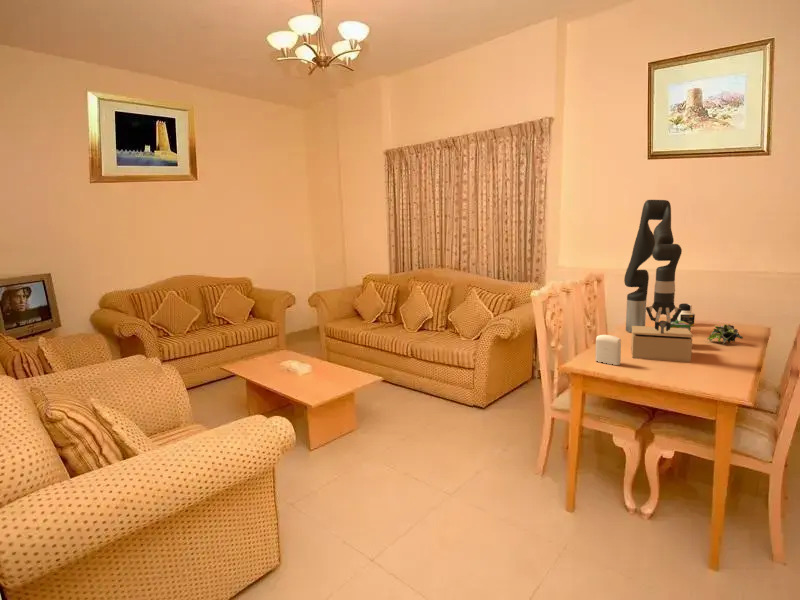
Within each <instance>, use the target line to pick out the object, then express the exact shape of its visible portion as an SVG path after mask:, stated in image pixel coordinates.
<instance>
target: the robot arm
mask: <svg viewBox="0 0 800 600" xmlns="http://www.w3.org/2000/svg"><path fill="white" fill-rule="evenodd" d="M650 220H652V221H653V220H654V221H660V222H659V223H658V224H657V225H656V226H655V227H654V229H653V232H652V230H651V228H650V225H649V221H650ZM672 231H673V230H672V207H671V203H670V201H669V200H667V199H647V200H645V201H644V204H643V206H642V211H641V215H640V222H639V226H638V230H637V234H636V237H635V240H634V244H633V248H632V252H631V256H630V261H629V262H628V265H627V268H626V271H625V273H624V281H623V282H624V286H626V287H627V288H637V289H636V290H634V291H632V292H630V293H628V294H626V316H625V319H626V320H625V331H626V332H628V333H632V326H646V317H647V314H648V316H649V320H650V321H653V322H654V327H655V329H656V330H657V331H659V327H660V326H659V322H660V321H659V320H660V317H661V315H665V316H666V321H667V322H666V323H667V325H666V331H668V330H670V324H671V322H675V321H676V319H677V318H678V316H679V314H680V313H681V311H682V310H681V308H679V307H677V306H675V305H676V304H675V295H676V294H675V292H676V282H675V281H676V270H677V266H678V263H679V261H680V258H681V256H682V251H683V250H682V246H681V245H680V244H678V243H674V236H673V232H672ZM651 256H652V258H653V259H654V260H655V261H658V262H668V261H669V263H668V264H666V265H661V266H658V267H656V270H655V282H654V289H653V290H654V291H653V296H654V297H653V303H652V305H651V306H647V300H648V299H647V298H648V290H649V289H648V287H649V279H650V276H649V272H648V270H647V269H639V267H640V266H641V265H642V264H644V263H645V262H646V261H648V260H649V259H650V258H651ZM653 310H654V311H655V312H656V313H655V316H653V314H652V312H653ZM673 311H674V314H673V315H674V316H673V315H672V318H671V313H672V312H673ZM675 312H676V313H675Z"/></svg>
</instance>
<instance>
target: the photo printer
mask: <svg viewBox="0 0 800 600" xmlns="http://www.w3.org/2000/svg"><path fill="white" fill-rule="evenodd" d="M621 354H622V340H621V338H619V337H618V336H615V335H611V334H599V335H596V338H595V362H596V361H598V362H597V363H601V362H603V364H606V363H607V364H606V365H612V364H613V366H620V365H621V360H622V359H621V357H622V356H621Z"/></svg>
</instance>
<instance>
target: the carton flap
mask: <svg viewBox="0 0 800 600" xmlns="http://www.w3.org/2000/svg"><path fill="white" fill-rule="evenodd" d="M665 321H666V320H660V321H659V331H657V330H656V329H655V326H646V325H645V326H632V331H633V334H639V335H657V336H674V337H691V338H692V339H693V338H694V335H693V333H692V332H691V330H690V331H689V330H688V329H687V328H670V330H668V331H666V325H667V323H666V322H665Z"/></svg>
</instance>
